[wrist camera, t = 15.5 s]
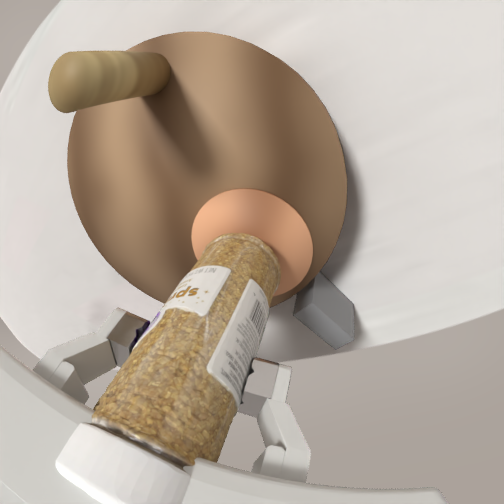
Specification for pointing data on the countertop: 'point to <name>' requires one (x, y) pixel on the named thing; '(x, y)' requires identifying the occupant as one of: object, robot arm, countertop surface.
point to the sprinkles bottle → (178, 381)
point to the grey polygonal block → (326, 311)
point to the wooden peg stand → (199, 157)
